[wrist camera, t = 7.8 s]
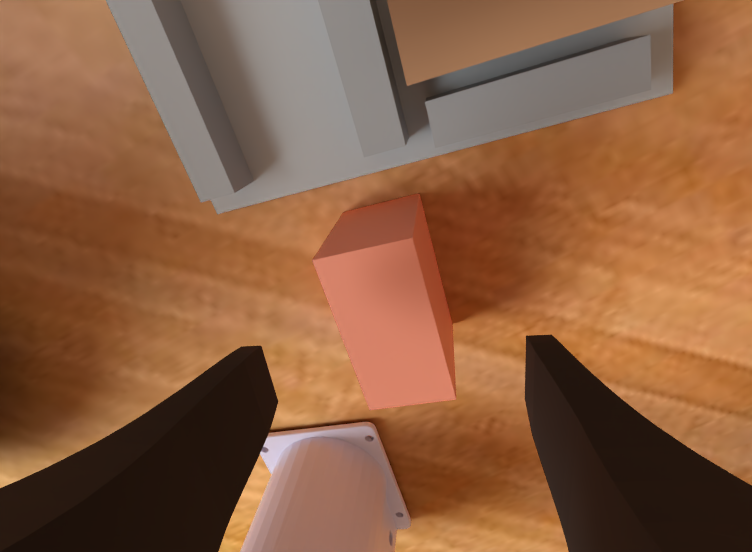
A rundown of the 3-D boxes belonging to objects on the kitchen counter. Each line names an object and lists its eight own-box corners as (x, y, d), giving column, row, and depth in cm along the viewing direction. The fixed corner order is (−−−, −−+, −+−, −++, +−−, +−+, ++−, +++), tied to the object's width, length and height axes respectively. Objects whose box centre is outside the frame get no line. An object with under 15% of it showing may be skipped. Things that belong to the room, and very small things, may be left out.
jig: (664, 92, 16) (704, 97, 13) (223, 210, 20) (195, 229, 18) (664, -287, 12) (719, -374, 9) (113, -33, 16) (59, -50, 14)
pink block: (452, 323, 21) (456, 399, 17) (385, 334, 22) (369, 410, 17) (419, 192, 19) (412, 237, 14) (343, 211, 20) (312, 260, 15)
